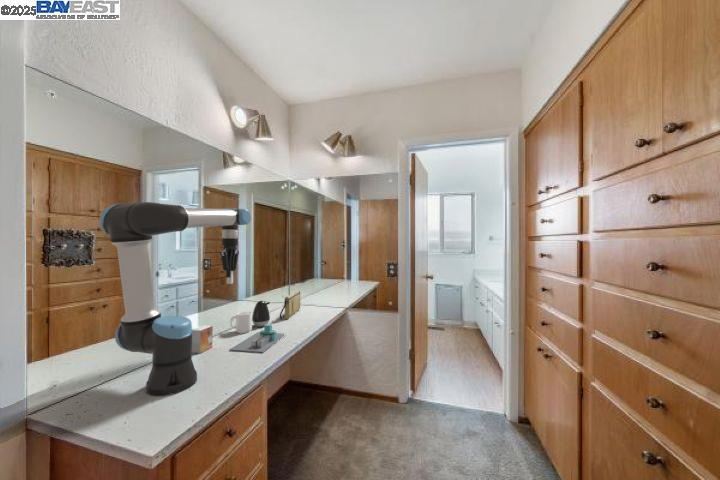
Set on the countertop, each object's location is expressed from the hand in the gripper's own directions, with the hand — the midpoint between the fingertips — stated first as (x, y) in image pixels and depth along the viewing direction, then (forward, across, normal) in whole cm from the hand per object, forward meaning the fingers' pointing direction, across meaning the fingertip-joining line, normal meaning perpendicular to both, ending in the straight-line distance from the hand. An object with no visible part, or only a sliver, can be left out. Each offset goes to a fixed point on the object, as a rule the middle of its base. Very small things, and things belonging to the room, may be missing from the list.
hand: (229, 283), depth 146 cm
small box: (+30, -14, +5) cm, 33 cm away
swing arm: (+29, -1, -19) cm, 34 cm away
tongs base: (+29, 0, -21) cm, 35 cm away
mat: (+29, 0, -17) cm, 34 cm away
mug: (+30, +15, +3) cm, 33 cm away
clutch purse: (+30, +55, -10) cm, 63 cm away
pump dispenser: (+30, +27, -3) cm, 40 cm away
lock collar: (+29, +3, -20) cm, 35 cm away
